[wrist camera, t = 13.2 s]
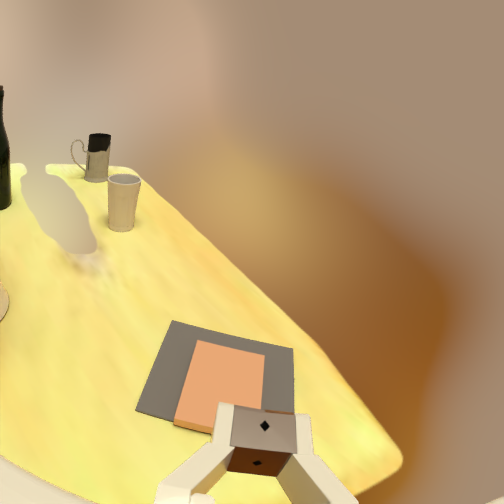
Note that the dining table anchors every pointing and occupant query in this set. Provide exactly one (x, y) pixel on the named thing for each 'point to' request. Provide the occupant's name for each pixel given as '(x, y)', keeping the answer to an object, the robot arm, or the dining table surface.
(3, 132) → the dark green bottle
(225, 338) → the mat
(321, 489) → the robot arm
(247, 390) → the tile
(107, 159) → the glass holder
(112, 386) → the dining table surface
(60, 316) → the dining table surface
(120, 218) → the cup
